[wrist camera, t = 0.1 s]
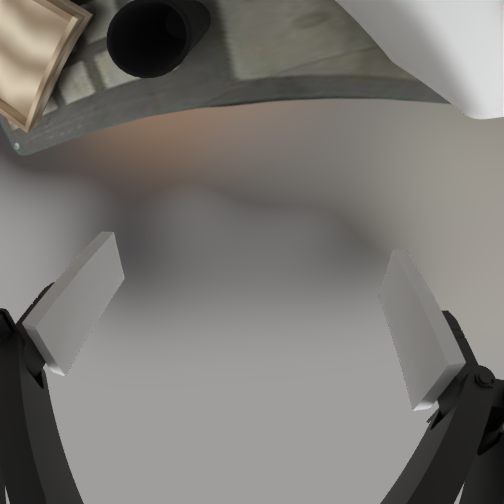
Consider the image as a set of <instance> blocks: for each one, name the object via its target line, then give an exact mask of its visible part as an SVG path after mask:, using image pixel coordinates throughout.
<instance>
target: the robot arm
mask: <svg viewBox="0 0 504 504" xmlns="http://www.w3.org/2000/svg"><path fill="white" fill-rule="evenodd" d="M124 279H125V278H124V274H123V270H122V266H121V262H120V258H119V254H118V249H117V245H116V240H115V236H114V233H113V232H101V233H100V234H99V235H98V236H97V237H96V238H95V239H94V240H93V241H92V242H91V243H90V244H89V245H88V246H87V247H86V248H85V249H84V250H83V251H82V252H81V253H80V255H79V256H78V257H77V258H76V259H75V260H74V261H73V262H72V263H71V264H70V266H69V267H68V268H67V269H66V270H65V271H64V272H63V273H62V275H61V276H60V277H59V278H58V279H57V280H56V281H55V282H53V283H51V284H50V285H49V286H47V287H46V288H44V290H43V291H42V292H41V293H40V294H39V296H38V298H36V299H35V300H34V302H33V304H31V305H30V307H29V308H28V309H27V310H26V312H25V313H24V314H23V315H22V317H21V318H20V319H19V321H18V322H17V323H16V324H15V323H14V321H13V319H12V317H11V316H10V314H9V312H8V311H7V310H6V309H3V308H1V309H0V504H6V497H5V487H6V490H7V494H8V498H9V501H10V504H84V503H83V501H82V499H81V496H80V494H79V492H78V489H77V487H76V484H75V482H74V479H73V476H72V473H71V471H70V468H69V465H68V462H67V459H66V456H65V453H64V450H63V447H62V443H61V440H60V436H59V433H58V429H57V425H56V421H55V417H54V413H53V409H52V405H51V400H50V395H49V390H48V384H47V379H46V374H45V371H44V369H43V366H44V365H45V363H46V364H47V365H48V366H49V368H50V369H51V371H52V372H54V373H57V374H60V375H63V376H66V374H67V372H68V371H69V369H70V367H71V365H72V363H73V362H74V360H75V358H76V356H77V355H78V353H79V351H80V349H81V348H82V346H83V344H84V342H85V341H86V339H87V337H88V336H89V334H90V332H91V331H92V329H93V327H94V326H95V324H96V322H97V321H98V319H99V317H100V316H101V314H102V313H103V311H104V309H105V308H106V306H107V305H108V303H109V302H110V300H111V298H112V297H113V295H114V294H115V292H116V291H117V289H118V288H119V286H120V285H121V283H122V281H123V280H124ZM378 297H379V300H380V303H381V305H382V308H383V311H384V314H385V317H386V320H387V323H388V326H389V329H390V332H391V335H392V338H393V342H394V345H395V348H396V351H397V354H398V358H399V361H400V364H401V368H402V372H403V375H404V379H405V382H406V386H407V390H408V394H409V397H410V401H411V405H412V410H413V411H415V410H422V409H428V408H430V407H431V406H432V405H433V404H434V403H435V401H436V400H437V401H438V404H439V408H438V409H437V410H436V411H435V413H434V414H433V415H432V416H431V417H430V418H429V419H428V421H427V422H428V423H429V422H430V421H431V422H430V424H429V426H428V428H427V430H426V432H425V434H424V436H423V438H422V439H421V441H420V443H419V445H418V447H417V449H416V450H415V452H414V454H413V455H412V457H411V459H410V460H409V462H408V464H407V465H406V467H405V469H404V470H403V472H402V473H401V475H400V476H399V478H398V479H397V481H396V482H395V484H394V485H393V487H392V488H391V490H390V491H389V492H388V494H387V495H386V497H385V498H384V499H383V501H382V502H381V503H380V504H454V502H455V500H456V498H457V496H458V494H459V492H460V490H461V488H462V486H463V484H464V487H463V491H462V495H461V499H460V502H459V504H504V428H503V425H504V380H500V379H495V376H494V375H493V373H492V372H491V371H490V370H489V369H488V368H486V367H484V366H481V365H478V363H477V361H476V359H475V356H474V354H473V352H472V350H471V348H470V346H469V344H468V342H467V340H466V338H465V336H464V334H463V332H462V330H461V328H460V326H459V324H458V322H457V320H456V319H455V318H454V317H453V316H452V314H451V313H449V311H441V309H440V307H439V306H438V303H437V302H436V300H435V298H434V296H433V294H432V293H431V291H430V289H429V287H428V285H427V283H426V282H425V280H424V278H423V277H422V275H421V273H420V271H419V270H418V268H417V266H416V265H415V263H414V261H413V260H412V258H411V256H410V255H409V253H408V251H406V250H392V254H391V257H390V261H389V264H388V267H387V271H386V274H385V277H384V280H383V283H382V286H381V289H380V292H379V295H378ZM464 481H465V483H464Z"/></svg>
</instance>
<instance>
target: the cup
mask: <svg viewBox="0 0 504 504" xmlns="http://www.w3.org/2000/svg"><path fill="white" fill-rule="evenodd" d="M209 26H210V15H209V12H208V10H207V9H206V8H205V6H203V5H202V4H201V3H198V2H196V1H191V0H134V1H132V2H130V3H128V4H127V5H125V6H124V7H122V8H121V9H120V10H119V11H118V12H117V13H116V15H115V16H114V17H113V19H112V21H111V23H110V25H109V28H108V32H107V48H108V52H109V54H110V56H111V58H112V60H113V62H114V63H115V64H116V65H117V66H118V67H119V68H120V69H121V70H123V71H124V72H125V73H127V74H130V75H132V76H134V77H140V78H155V77H158V76H162V75H165V74H166V73H168V72H170V71H172V70H173V69H175V68H176V67H177V66H178V65H179V64H180V63H181V62H182V61H183V59H184V58H185V57H186V56H187V54H188V53H189V52H190V51H191V49H192V48H193V47H194V46H195V45H196V43H197V42H198V41H199V40H200V39H201V37H202V36H203V35H204V34H205V33H206V31H207V30H208V28H209Z"/></svg>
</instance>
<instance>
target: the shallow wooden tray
mask: <svg viewBox="0 0 504 504" xmlns="http://www.w3.org/2000/svg"><path fill="white" fill-rule="evenodd" d="M95 14H96V10H95V9H93V8H91V7H90V6H88V5H86V4H82V5H80V6H78V5H76V4H75V3H73V2H71V1H70V0H0V113H1V114H2V115H4V116H5V117H6V118H8V119H9V120H10V121H12V122H13V123H14V124H16V125H17V126H18V127H20V128H21V129H22V130H24V131H25V132H26V133H28V132H29V131H30V130H31V129H33V128H34V127H35V126H36V125H37V124H38V123H39V122H40V119H41V117H42V114H43V112H44V109H45V106H46V104H47V102H48V100H49V98H50V97H51V96H52V94H53V93H54V91H55V89H56V87H57V85H58V80H57V79H58V76H59V74H60V72H61V70H62V68H63V66H64V64H65V62H66V60H67V58H68V56H69V54H70V52H71V51H72V49H73V47H74V45H75V43H76V42H77V40H78V38H79V36H80V35H81V34H82V33H83V32H84V31H85V30H86V29H87V28H88V26H89V25H90V24H91V22H92V21H93V19H94V17H95Z"/></svg>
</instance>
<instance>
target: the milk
mask: <svg viewBox="0 0 504 504" xmlns="http://www.w3.org/2000/svg"><path fill="white" fill-rule="evenodd" d="M335 1H336V2H337V3H338V4H339V5H340V6H342V7H343V8H344V9H345V10H346V11H347V12H348V13H349V14H350V15H351V16H352V17H353V18H354V19H355V20H356V21H357V22H358V23H359V25H360V26H361V27H362V28H363V29H364V30H365V31H366V32H367V33H368V34H369V35H370V36H371V38H372V39H373V40H374V41H375V42H376V43H377V44H378V46H379V47H380V48H381V49H382V50H383V51H384V53H385V54H386V55H387V56H388V57H389V59H390V60H391V61H392V62H393V63H394V64H396V65H398V66H399V67H401V68H402V69H404V70H405V71H407V72H409V73H410V74H412V75H413V76H414V77H416V78H417V79H419V80H420V81H422V82H423V83H425V84H426V85H427V86H429V87H430V88H432V89H433V90H434V91H436V92H437V93H438V94H440V95H441V96H442V97H444V98H445V99H446V100H447V101H449V102H450V103H451V104H452V105H454V106H455V107H456V108H457V109H459V110H460V111H461V112H462V113H463V114H465V115H466V116H468V117H471V118H474V119H489V118H497V117H504V0H335Z"/></svg>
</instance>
